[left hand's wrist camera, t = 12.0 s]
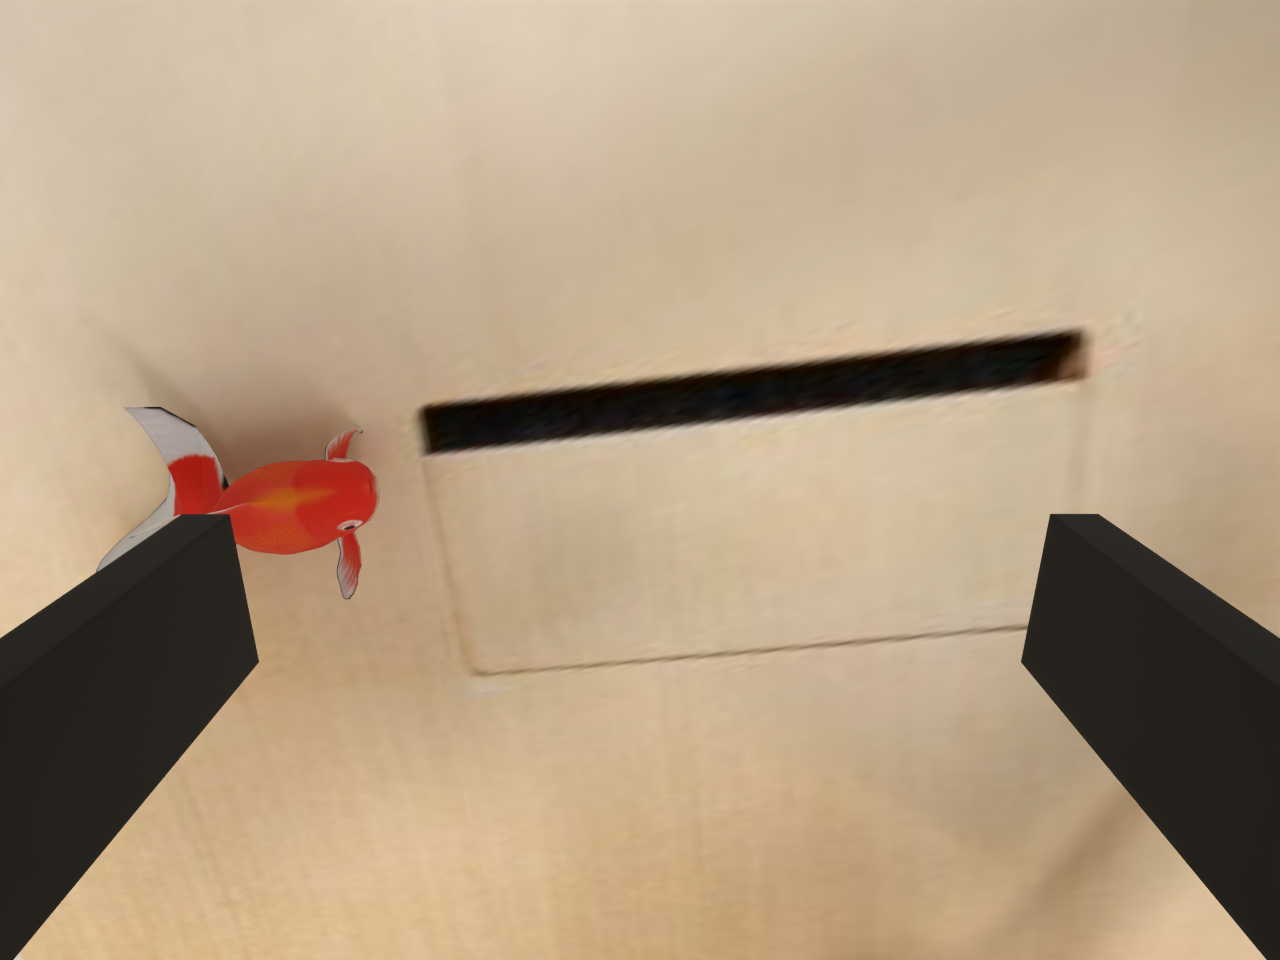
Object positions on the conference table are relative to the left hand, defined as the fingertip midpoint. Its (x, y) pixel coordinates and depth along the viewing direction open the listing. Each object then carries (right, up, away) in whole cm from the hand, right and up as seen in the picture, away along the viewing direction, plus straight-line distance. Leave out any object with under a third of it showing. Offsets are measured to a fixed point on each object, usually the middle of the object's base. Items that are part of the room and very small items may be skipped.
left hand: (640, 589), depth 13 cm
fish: (-19, +1, +26) cm, 32 cm away
